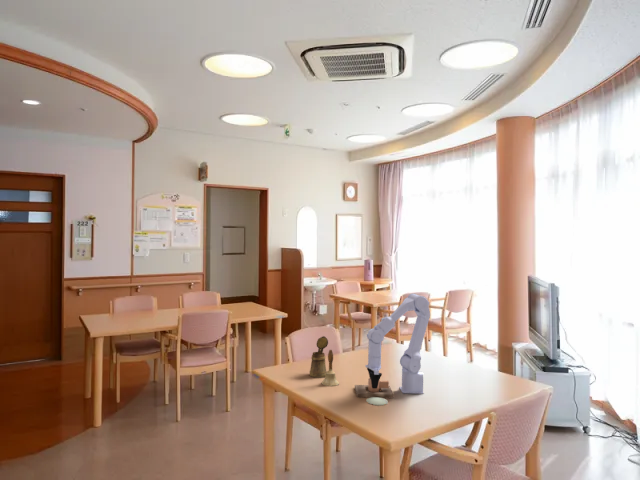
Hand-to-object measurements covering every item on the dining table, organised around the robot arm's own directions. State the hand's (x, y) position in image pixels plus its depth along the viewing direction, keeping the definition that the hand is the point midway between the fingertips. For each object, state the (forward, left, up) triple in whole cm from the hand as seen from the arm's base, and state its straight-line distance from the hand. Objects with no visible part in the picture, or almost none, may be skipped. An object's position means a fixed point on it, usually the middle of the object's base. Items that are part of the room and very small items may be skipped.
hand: (373, 386), depth 202 cm
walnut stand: (0, 0, -3) cm, 3 cm away
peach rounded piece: (-2, 0, -3) cm, 4 cm away
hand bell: (+19, -12, -3) cm, 23 cm away
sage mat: (0, +11, -3) cm, 11 cm away
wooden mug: (+24, -27, -3) cm, 36 cm away
